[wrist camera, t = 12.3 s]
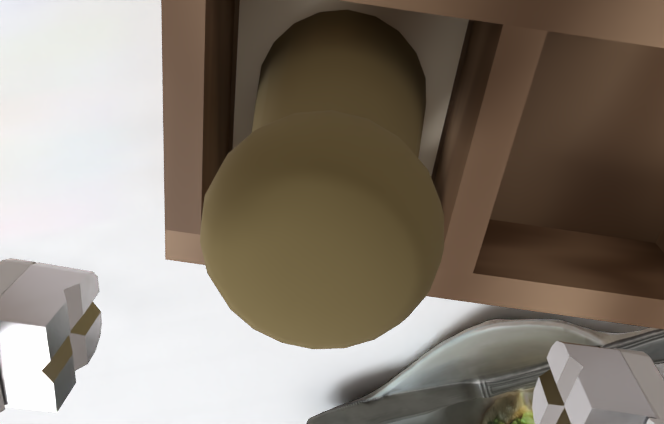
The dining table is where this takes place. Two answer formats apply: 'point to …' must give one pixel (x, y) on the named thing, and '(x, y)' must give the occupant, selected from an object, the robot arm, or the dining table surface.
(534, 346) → the salad plate
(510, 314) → the dining table surface
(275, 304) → the cork
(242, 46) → the walnut rack
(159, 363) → the dining table surface
